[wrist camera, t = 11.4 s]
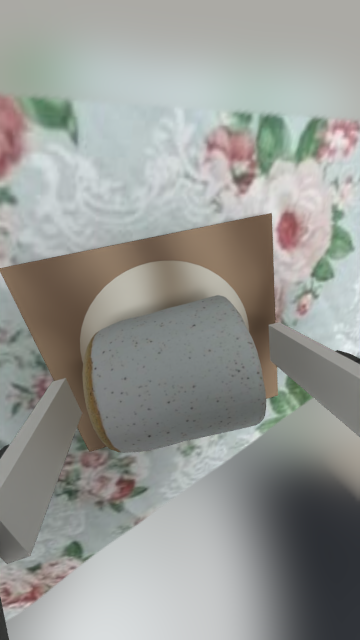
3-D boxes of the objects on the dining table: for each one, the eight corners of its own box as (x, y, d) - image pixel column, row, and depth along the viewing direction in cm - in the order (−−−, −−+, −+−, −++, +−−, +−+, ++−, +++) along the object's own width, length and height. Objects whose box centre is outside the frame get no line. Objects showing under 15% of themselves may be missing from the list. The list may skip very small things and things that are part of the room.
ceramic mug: (93, 314, 14) (45, 385, 7) (207, 283, 15) (270, 318, 8) (139, 425, 18) (139, 544, 11) (227, 396, 19) (282, 490, 12)
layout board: (91, 441, 19) (88, 455, 18) (8, 267, 13) (-5, 268, 12) (271, 388, 21) (279, 397, 20) (263, 215, 15) (274, 212, 14)
